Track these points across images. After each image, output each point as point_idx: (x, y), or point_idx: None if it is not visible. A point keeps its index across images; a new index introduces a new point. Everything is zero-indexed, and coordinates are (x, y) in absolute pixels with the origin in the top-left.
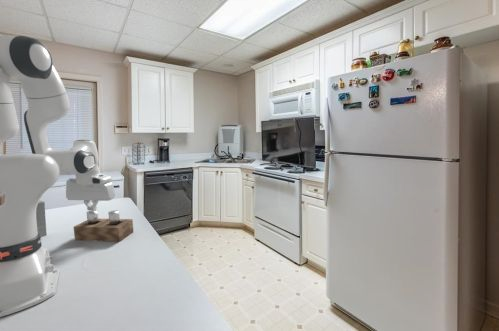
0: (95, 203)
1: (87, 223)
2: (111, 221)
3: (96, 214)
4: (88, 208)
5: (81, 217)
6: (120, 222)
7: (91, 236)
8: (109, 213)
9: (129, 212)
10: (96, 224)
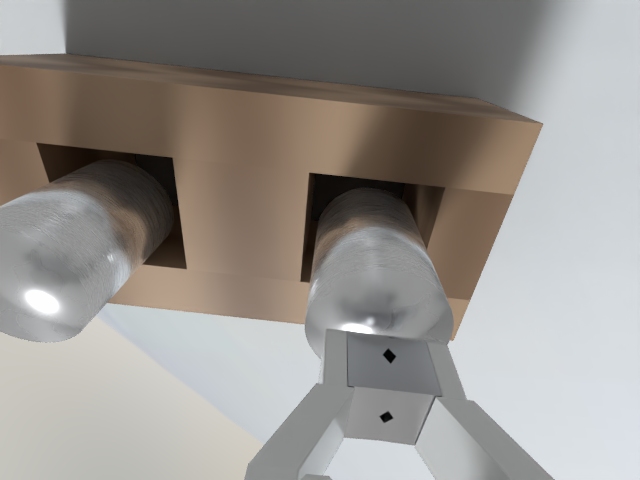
0: (269, 456)
1: (427, 234)
2: (80, 176)
3: (309, 290)
4: (427, 359)
5: (597, 448)
6: None
7: (317, 84)
8: (12, 230)
9: (343, 476)
10: (293, 183)
